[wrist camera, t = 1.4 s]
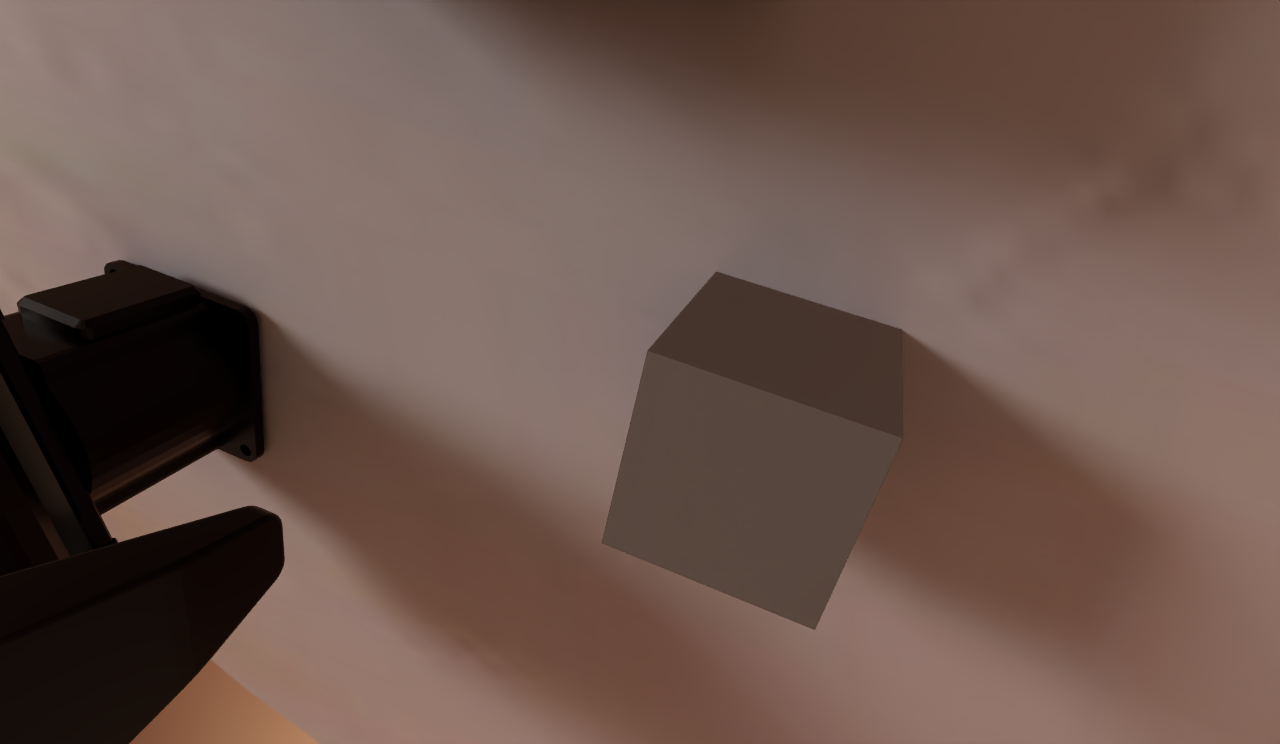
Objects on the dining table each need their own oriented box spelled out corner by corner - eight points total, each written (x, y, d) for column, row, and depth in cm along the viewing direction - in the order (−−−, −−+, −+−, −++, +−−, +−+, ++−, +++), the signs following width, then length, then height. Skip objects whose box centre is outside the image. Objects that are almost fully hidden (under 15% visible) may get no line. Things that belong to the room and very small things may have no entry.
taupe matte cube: (836, 483, 20) (815, 629, 15) (674, 424, 21) (601, 543, 16) (901, 329, 18) (902, 438, 13) (716, 271, 19) (647, 351, 14)
